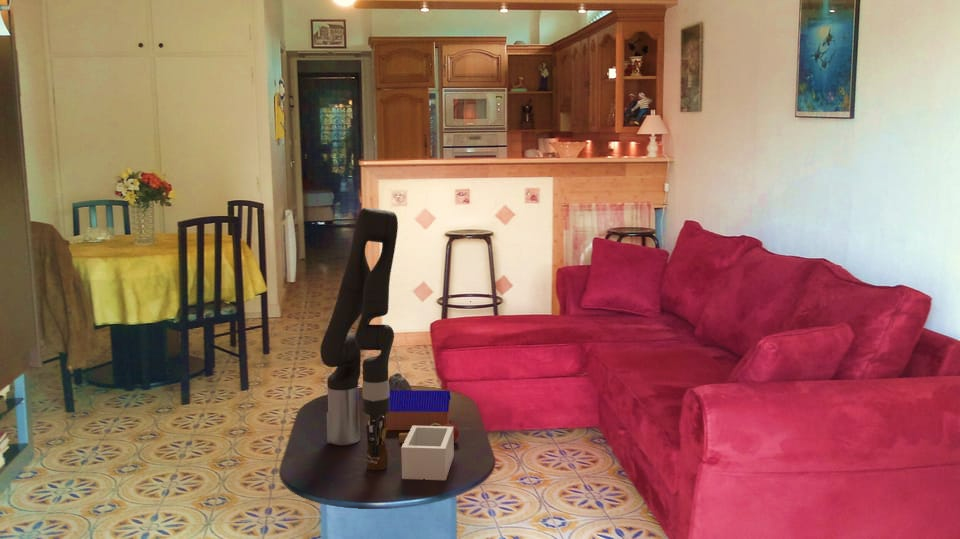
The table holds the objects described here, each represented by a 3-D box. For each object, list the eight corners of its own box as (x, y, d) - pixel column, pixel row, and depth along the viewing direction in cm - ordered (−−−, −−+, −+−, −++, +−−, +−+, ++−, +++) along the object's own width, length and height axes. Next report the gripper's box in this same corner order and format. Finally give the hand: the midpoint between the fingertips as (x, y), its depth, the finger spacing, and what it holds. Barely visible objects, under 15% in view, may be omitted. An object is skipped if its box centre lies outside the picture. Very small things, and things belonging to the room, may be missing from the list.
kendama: (399, 452, 250) (458, 445, 248) (396, 431, 250) (455, 423, 249) (403, 447, 257) (460, 440, 256) (400, 427, 258) (458, 419, 256)
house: (448, 432, 263) (448, 396, 261) (385, 431, 264) (384, 396, 262) (451, 419, 275) (450, 384, 273) (390, 418, 276) (389, 384, 274)
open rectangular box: (402, 478, 227) (401, 447, 226) (413, 454, 244) (412, 425, 243) (445, 480, 226) (445, 448, 225) (453, 456, 243) (453, 426, 241)
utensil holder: (376, 460, 239) (375, 420, 237) (393, 465, 235) (392, 425, 233) (362, 467, 234) (361, 426, 232) (378, 472, 231) (377, 431, 229)
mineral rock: (380, 395, 300) (379, 368, 298) (409, 393, 302) (409, 366, 301) (384, 406, 287) (383, 378, 286) (415, 404, 290) (414, 376, 288)
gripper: (368, 386, 239) (370, 442, 242) (356, 402, 225) (357, 462, 228) (394, 387, 238) (395, 443, 241) (383, 403, 224) (384, 463, 227)
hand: (377, 452), depth 234 cm, fingers closed on utensil holder, 5 cm apart
